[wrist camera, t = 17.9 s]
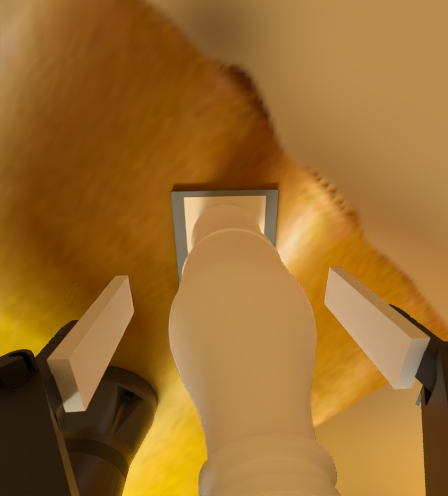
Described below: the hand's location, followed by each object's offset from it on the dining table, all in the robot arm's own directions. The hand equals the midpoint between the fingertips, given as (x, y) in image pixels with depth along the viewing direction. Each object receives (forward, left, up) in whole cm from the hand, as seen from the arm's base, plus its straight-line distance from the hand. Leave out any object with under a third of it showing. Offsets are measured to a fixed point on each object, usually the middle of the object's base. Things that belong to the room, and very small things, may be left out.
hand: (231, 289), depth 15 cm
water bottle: (0, 0, -13) cm, 13 cm away
